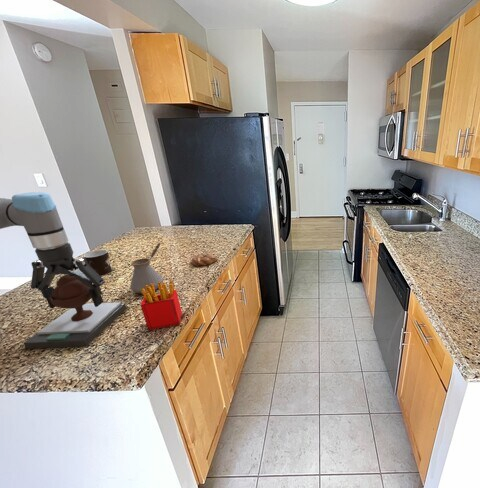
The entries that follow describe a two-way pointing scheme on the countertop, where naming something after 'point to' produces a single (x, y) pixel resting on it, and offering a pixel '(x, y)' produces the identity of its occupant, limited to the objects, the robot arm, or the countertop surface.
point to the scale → (76, 327)
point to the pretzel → (203, 259)
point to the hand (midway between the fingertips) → (77, 305)
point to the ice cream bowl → (71, 296)
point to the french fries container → (161, 306)
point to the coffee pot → (144, 274)
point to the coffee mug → (99, 261)
